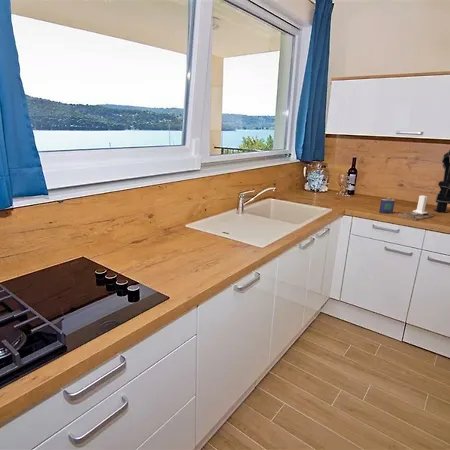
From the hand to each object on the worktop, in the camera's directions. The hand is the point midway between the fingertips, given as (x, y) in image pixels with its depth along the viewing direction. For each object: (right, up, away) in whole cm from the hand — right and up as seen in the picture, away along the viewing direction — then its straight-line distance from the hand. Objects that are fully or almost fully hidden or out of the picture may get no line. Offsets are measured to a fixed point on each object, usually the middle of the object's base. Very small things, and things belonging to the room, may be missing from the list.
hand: (447, 196), depth 213 cm
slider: (-16, -10, +3) cm, 19 cm away
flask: (-36, -10, +7) cm, 38 cm away
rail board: (-20, -12, +1) cm, 23 cm away
